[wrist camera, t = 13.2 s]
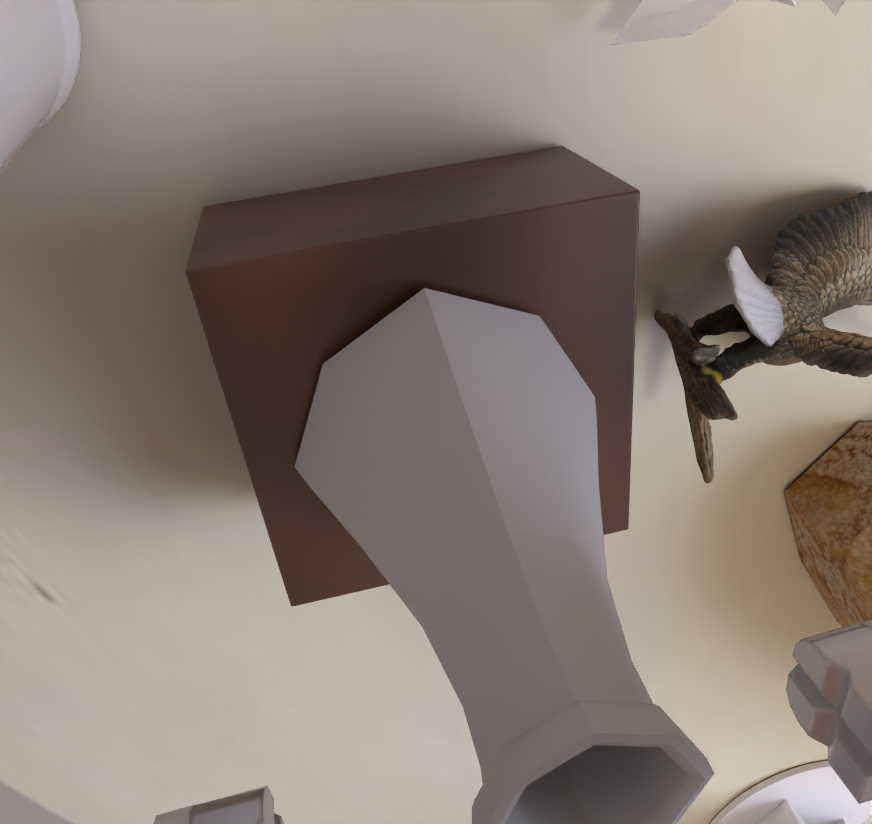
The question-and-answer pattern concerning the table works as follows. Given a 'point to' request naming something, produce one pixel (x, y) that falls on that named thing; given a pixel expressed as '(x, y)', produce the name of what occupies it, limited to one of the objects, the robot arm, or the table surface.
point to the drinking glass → (34, 67)
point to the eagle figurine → (780, 313)
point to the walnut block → (390, 288)
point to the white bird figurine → (681, 17)
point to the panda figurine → (797, 800)
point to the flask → (499, 554)
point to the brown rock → (838, 524)
